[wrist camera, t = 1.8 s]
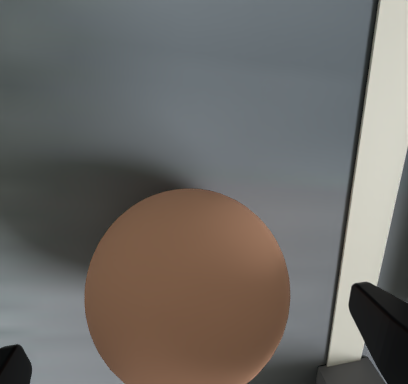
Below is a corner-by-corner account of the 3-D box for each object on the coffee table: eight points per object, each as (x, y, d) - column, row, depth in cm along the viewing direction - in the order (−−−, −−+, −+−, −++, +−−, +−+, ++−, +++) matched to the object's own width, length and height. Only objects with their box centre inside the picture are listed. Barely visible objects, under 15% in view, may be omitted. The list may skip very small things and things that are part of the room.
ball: (256, 276, 14) (320, 427, 8) (121, 300, 13) (97, 476, 8) (254, 149, 11) (347, 252, 6) (83, 173, 10) (8, 309, 5)
